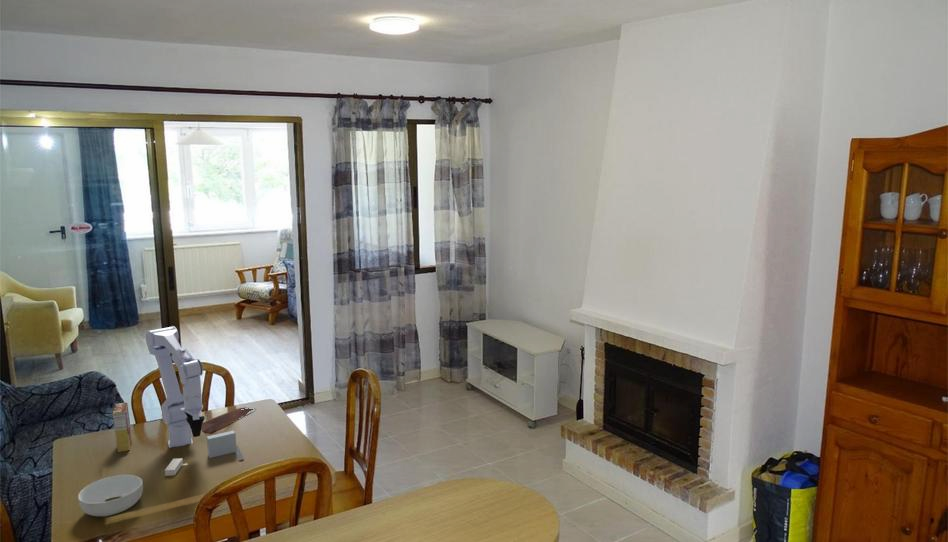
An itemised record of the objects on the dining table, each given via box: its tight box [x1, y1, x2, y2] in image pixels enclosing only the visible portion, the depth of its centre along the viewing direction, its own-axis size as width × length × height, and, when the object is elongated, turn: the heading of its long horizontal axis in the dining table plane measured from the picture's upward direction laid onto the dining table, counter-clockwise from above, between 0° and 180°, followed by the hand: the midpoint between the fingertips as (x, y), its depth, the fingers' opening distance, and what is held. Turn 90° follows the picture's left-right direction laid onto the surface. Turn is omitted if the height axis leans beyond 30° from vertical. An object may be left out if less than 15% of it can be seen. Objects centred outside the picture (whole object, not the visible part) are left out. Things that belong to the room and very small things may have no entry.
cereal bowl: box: [77, 474, 144, 517], centre depth 192 cm, size 17×17×7 cm
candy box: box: [112, 402, 133, 453], centre depth 233 cm, size 9×4×15 cm, turn 23°
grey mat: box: [235, 445, 245, 462], centre depth 226 cm, size 12×12×1 cm
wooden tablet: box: [201, 407, 253, 434], centre depth 259 cm, size 26×2×10 cm
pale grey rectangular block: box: [206, 430, 237, 459], centre depth 226 cm, size 2×9×8 cm, turn 124°
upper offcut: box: [164, 457, 184, 477], centre depth 214 cm, size 3×8×2 cm, turn 6°
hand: (195, 432), depth 223 cm, fingers open, 7 cm apart
